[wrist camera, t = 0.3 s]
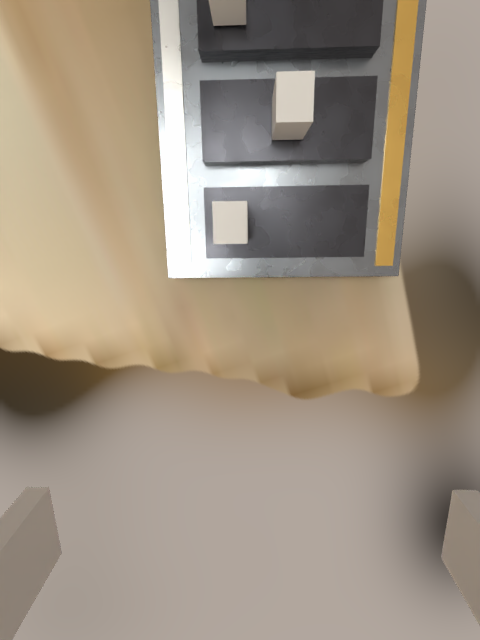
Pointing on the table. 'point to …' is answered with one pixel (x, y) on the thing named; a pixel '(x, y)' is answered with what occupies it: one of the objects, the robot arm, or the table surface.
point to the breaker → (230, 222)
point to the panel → (284, 171)
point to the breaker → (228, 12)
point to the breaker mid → (292, 104)
